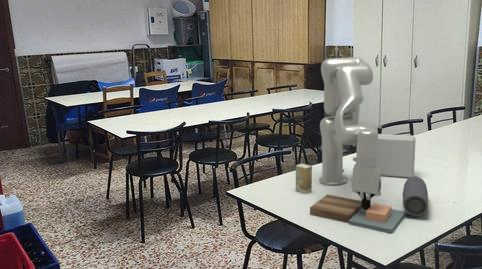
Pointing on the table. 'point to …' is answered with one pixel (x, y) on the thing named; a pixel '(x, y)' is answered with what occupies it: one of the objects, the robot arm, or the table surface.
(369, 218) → the tile
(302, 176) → the skincare box
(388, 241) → the table surface
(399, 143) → the bevelled white case
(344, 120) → the robot arm
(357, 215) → the mat
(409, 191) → the bluetooth speaker
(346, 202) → the wooden board
